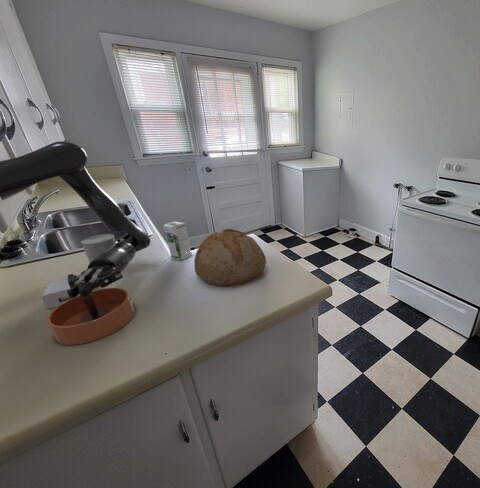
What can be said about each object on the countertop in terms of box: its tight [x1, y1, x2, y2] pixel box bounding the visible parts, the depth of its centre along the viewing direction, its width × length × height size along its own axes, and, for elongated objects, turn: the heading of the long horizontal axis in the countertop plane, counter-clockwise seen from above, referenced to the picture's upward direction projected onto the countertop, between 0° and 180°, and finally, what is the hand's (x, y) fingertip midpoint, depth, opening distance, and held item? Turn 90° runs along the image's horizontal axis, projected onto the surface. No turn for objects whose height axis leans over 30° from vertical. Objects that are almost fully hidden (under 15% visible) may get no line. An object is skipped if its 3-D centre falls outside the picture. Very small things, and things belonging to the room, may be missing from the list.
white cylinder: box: [80, 233, 116, 264], centre depth 100 cm, size 10×10×12 cm
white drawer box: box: [41, 276, 80, 309], centre depth 87 cm, size 5×9×15 cm
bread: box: [193, 228, 267, 288], centre depth 97 cm, size 26×23×15 cm
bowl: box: [46, 287, 135, 346], centre depth 74 cm, size 17×17×6 cm
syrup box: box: [163, 221, 193, 261], centre depth 109 cm, size 6×6×14 cm
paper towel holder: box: [77, 281, 110, 324], centre depth 72 cm, size 6×6×12 cm
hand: (76, 294), depth 68 cm, fingers closed on paper towel holder, 2 cm apart
